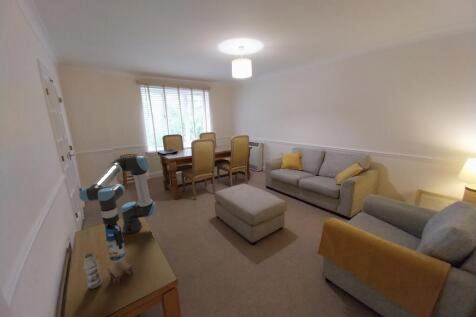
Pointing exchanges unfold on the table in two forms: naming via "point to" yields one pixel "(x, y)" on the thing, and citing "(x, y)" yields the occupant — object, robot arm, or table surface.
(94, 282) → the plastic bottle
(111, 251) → the blue lidded jar
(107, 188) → the robot arm
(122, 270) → the brown piece
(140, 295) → the table surface
